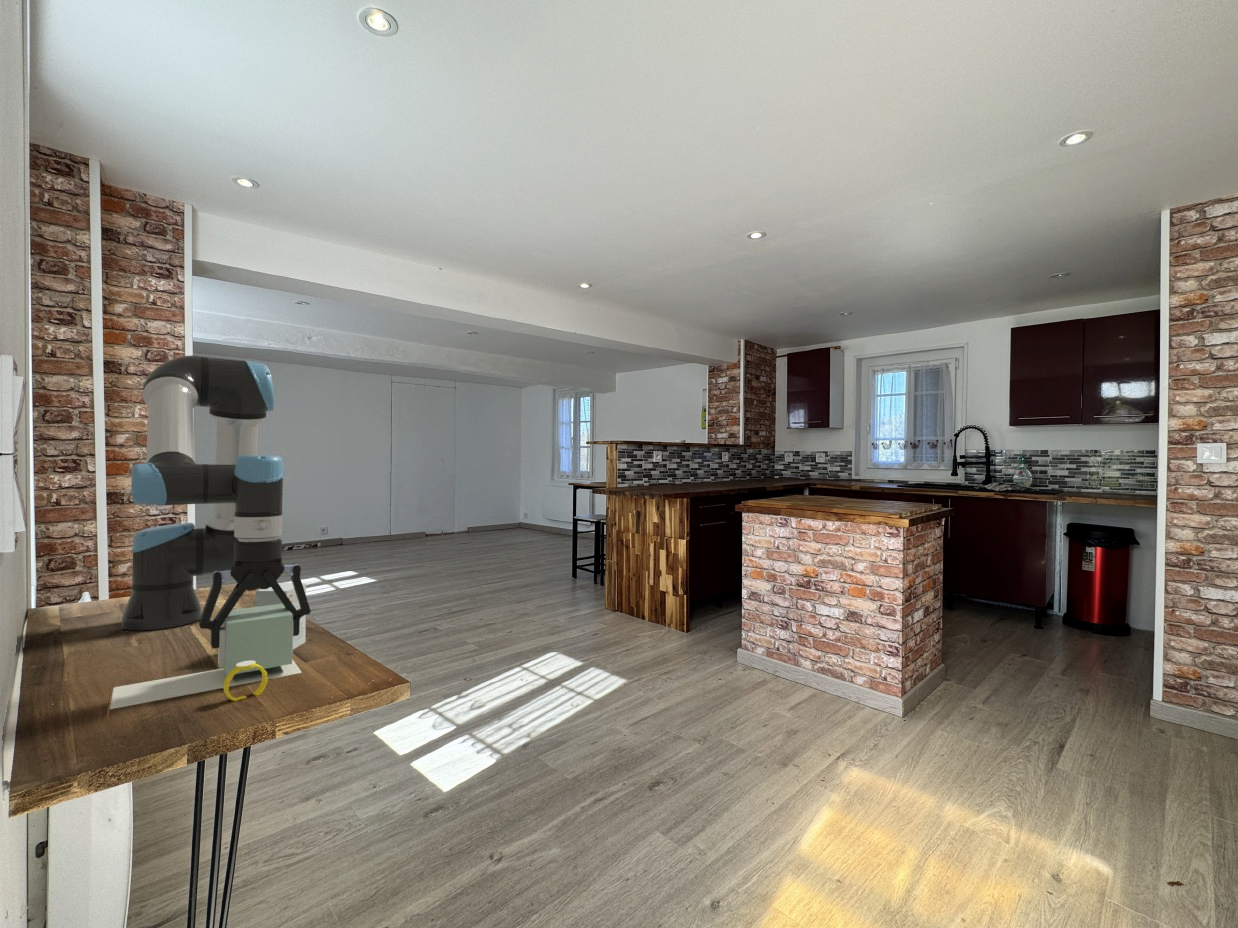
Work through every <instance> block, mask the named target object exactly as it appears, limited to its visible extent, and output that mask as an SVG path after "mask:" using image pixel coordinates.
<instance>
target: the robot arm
mask: <svg viewBox="0 0 1238 928" xmlns="http://www.w3.org/2000/svg"><path fill="white" fill-rule="evenodd" d="M142 398H143V401H144V403H145V405H147V408H148V410H147V431H146V432H147V433H146V434H147V435H146V456H145V458H146V459H145V460H146V461H145V463H136V464H134V465H133V466H132V468H131V479H130V480H131V481H130V482H131V484H130V487H131V488H130V491H131V492H130V494H131V495H130V496H131V497H130V498H131V500H132V502H133V503H134V504H136V505H143V506H144V505H149V506H150V505H151V506H159V507H161V506H171V505H172V506H176V505H177V506H180V505H202V504H203V505H205V504H207V505H210V504H212V505H213V514H212V515H211V516H210V517H209V518H207V519H206V520H205V527H203V528H196V526H195V524H194V523H193V522H183V523H173V524H166V525H159V526H154V527H148V528H145V529H142V530H139V531H138V532H136V533H135V534H134V535H133V538H132V540H133V541H132V549H131V551H130V552H131V554H132V569H131V571H132V572H131V573H132V574H131V575H132V576H131V594H130V597H129V599H128V601H127V603H126V606H125V608H124V611H123V614H122V616H121V621H120V622H121V624H120V627H121V629H123V630H128V631H154V630H161V629H170V628H175V627H182V626H185V625H189V624H192V623H195V622H197V621H198V625H199V629H202V630H204V629H205V630H210V646H211V648H212V649H217V657H218V658H217V664H218V665H217V666H218V668H219V669H221V668H224V656H225V629H224V627H222V624H223V623H224V621H225V619H226V618H227V617H228V615H229V614H230V612H231V611H232V610H234V608H235V606H236V605H237V603H238V601H239V600H240V598H241V597H242V596H243V595H244V593H245V592H246V591H248V592H251V591H255V590H256V591H257V590H260V589H268V588H270V587H271V588H272V589H273V590H274V592H275V593H276V595H277V596H278V598H279V599H280V600H281V602H282V603H283V605H284V606H285V608H286V609H287V610H289V611H290V612H291V613H292V614H293V636H298V635H299V627H300V618H301V617H302V616H304V615H306V616H308V615H310V614H311V612H312V611H311V607H310V604H309V601H308V599H307V598H308V597H307V593H306V594H305V591H304V588H303V585H302V583H303V582H302V580H301V569H302V568H301V566H300V565H299V564H298V563H293V564H284V563H283V560H282V558H283V557H282V556H283V555H282V554H283V553H282V552H283V540H281V539H282V538H279V537H281V536H283V535H282V534H283V491H284V489H283V488H284V477H285V471H284V461H283V458H282V457H281V456H279V455H264V454H263V455H262V454H261V455H260V454H259V455H258V443H259V425H260V423H262V422H263V421H264V420H266V418H267V412H271V411H274V409H275V392H274V383H273V377H272V374H271V371H270V368H269V367H268V366H267V365H266V364H264V363H261V362H256V361H250V360H244V359H232V358H223V357H221V358H220V357H210V356H209V357H208V356H201V355H183V356H179V357H175V358H171V359H169V360H167V361H165V362H163V363H161V364H160V365H159V366H157V367H156V368H155V369H154V370H153V371H151V372H150V373H149V374H148V376H147V377H146V379H145V381H144V383H143V387H142ZM195 407H205V408H209V411H208V413H209V416H210V417H211V418H212V419H213V420H214V421H216V434H215V435H216V437H215V459H214V460H215V461H214V462H215V464H214V463H213V464H212V463H211V464H210V463H209V464H208V463H206V464H205V463H202V464H201V463H196V446H195V442H196V441H195V424H194V421H195V420H194V409H195ZM284 572H285V573H286V575H287V576H288V577H290V579H291V583H293V586H294V589H295V592H296V595H297V598H298V601H299V604H300V609H298V610H296V608H295V607H294V605H293V604H292V603H291V601H290V600H289V598H288V597H287V595H286V594H285V593H284V591H283V590H282V588H281V587H280V585H279V584H278V583H279V582H278V580H279V578H280V577H281V576H282V574H283V573H284ZM206 575H207V576H208V575H212V585H211V588H210V590H209V593H208V595H207V598H206V601H205V604H204V607H203V609H202V607H201V604H200V601H199V599H198V597H197V593H196V591H195V588H194V577H196V576H197V577H198V576H206ZM229 577H232V579H233V580H235V582H236V584H235V586H234V588H233V589H232V591H231V593H230V594H229V595H228V598H227V599H226V601H225V602H224V604H223V605H222V607H220V609H219V610H218V613H217V614H216V616H215V617H214V619H213V620H211V618H212V615H213V613H214V610H215V607H216V604H217V601H218V598H219V596H220V593H221V590H222V586H223V584H225V583H226V582H227V581H228V579H229ZM292 656H294V649H293V638H292Z"/></svg>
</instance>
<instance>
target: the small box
mask: <svg viewBox="0 0 1238 928" xmlns="http://www.w3.org/2000/svg"><path fill="white" fill-rule="evenodd" d="M278 584H279V585H280V587H281V588H282V590H283V591H284V593H285V594H286V595H287V597H288V598H289V600H290V601H291V603H292V604H293V605H294V607H295V608H296V610H298V609H300V604H299V601H298V598H297V595H296V592H295V589H294V586H293V583H292V582H278ZM302 585H303V588H304V591H305V594H306V595H307V583H306V582H302ZM276 604H283V603H282V602H281V600H280V599H279V598H278V596H277V595H276V593H275V592H274V590H273V589H272V588H271V587H270V588H268V589H257V590H256V591H255V607H259V606H267V605H276ZM306 617H307V615H304V616H302V617H301V618H300V627H299V635H298V636H293V650H295V649H296V648H298V647H299V646H301V645H303V644H305V643H306V641H307V640H306V635H307V633H306V632H307V631H306V627H307V626H306V624H307V623H306V622H307V621H306Z"/></svg>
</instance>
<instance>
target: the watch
mask: <svg viewBox="0 0 1238 928" xmlns="http://www.w3.org/2000/svg"><path fill="white" fill-rule="evenodd" d="M254 667H256V668H259V669H260V671H261V672H262V681H260V684H259V687H258V688H257V689H256V690H255V691H254V692H253V693H252V694H253V695H254V696H259V695H261V694H262V692H263V691H264V690H265V688H266V685H267V684H268V680H269V679H267V672H266V671H265V670H264V668H263V667H261V666H260V665H257V664H256V662H255V661H252V660H249V661H243V662H240V663H237V664H236V668H234V669H233V670H232V671H231V672H230V673H229V674H228V676H227V677H226V679H225V681H224V688H222V689H223V692H224V694H225V696H226V697H227V698H228V699H229V700H231V701H233V702H237V701H240V700H244V699H247V698H248V697H247V696H246V695H243V696H237V697H235V696H233V695H231V692H230V691H229V690H230V687H229V683H230V681H231V679H232V678H233V676H234V675H235V674H236V673H237V672H239V671H240V670H248V669H251V668H254Z"/></svg>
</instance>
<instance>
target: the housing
mask: <svg viewBox="0 0 1238 928" xmlns="http://www.w3.org/2000/svg"><path fill="white" fill-rule="evenodd" d="M221 627H224V629H225V656H224V667H223V668H224V670H225V673H226V676H227V675H228V674H229V673H230V672H231V671H232V670H233V669H234V668H236V664H237V663H240V662H243V661H249V660H252V661H255V662H256V664H257V665H260V666H261V667H263V668H264V669H266V668H272V667H277V666H283V665H288V664H292V659H293V655H292V638H293V614H292V613H291V612H290V611H289V610H287V609H286V608H285V606H284V605H283V604H276V605H267V606H259V607H256V606H252V607H246V608H235V609H234V608H233V609H232V611H231V612H230V614H229V615H228V617H227V618H226V619H225V621H224V623H223V624H222V626H221ZM255 670H260V669H259V668H256V667H254V668H251V669H248V670H240V671H239V672H237V673H236V674H238V673H244V672H249V671H255Z"/></svg>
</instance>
